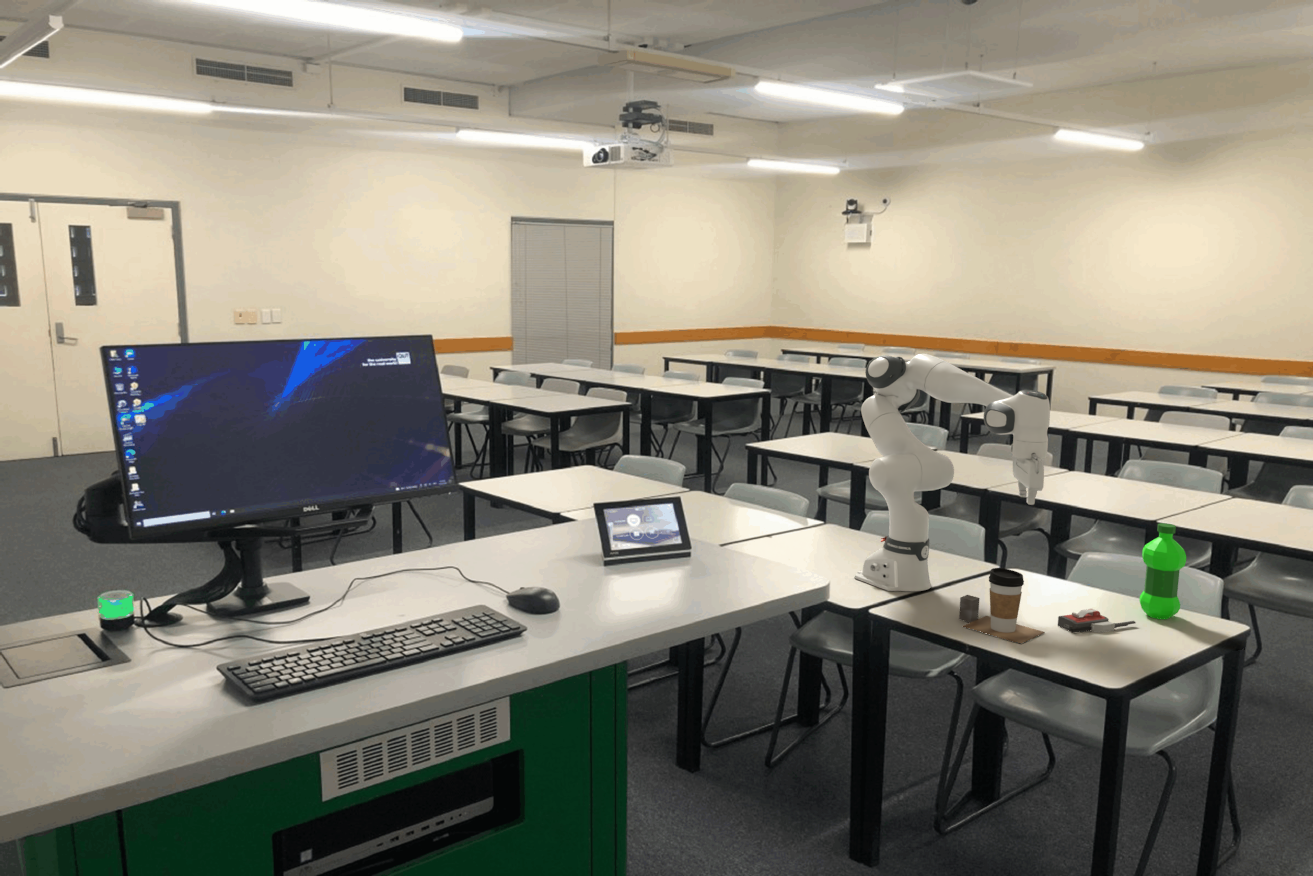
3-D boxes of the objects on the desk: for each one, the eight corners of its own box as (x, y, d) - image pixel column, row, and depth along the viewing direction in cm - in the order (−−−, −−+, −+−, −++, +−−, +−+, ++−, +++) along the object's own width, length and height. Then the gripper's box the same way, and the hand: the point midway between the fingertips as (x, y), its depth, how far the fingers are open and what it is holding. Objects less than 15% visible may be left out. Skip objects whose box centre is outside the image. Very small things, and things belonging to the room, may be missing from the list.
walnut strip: (950, 623, 250) (951, 600, 249) (974, 613, 258) (975, 591, 257) (1021, 644, 235) (1022, 620, 234) (1044, 633, 243) (1046, 609, 242)
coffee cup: (995, 620, 251) (998, 565, 249) (1026, 629, 245) (1030, 572, 243) (979, 628, 245) (983, 571, 243) (1011, 637, 239) (1015, 579, 237)
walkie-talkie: (1077, 638, 241) (1137, 628, 248) (1078, 621, 241) (1139, 612, 248) (1051, 626, 250) (1111, 618, 256) (1052, 610, 249) (1112, 602, 256)
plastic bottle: (1141, 607, 264) (1149, 518, 260) (1184, 615, 258) (1193, 525, 254) (1132, 616, 257) (1140, 525, 253) (1175, 625, 250) (1185, 532, 246)
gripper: (1051, 457, 250) (1048, 509, 252) (1033, 445, 270) (1029, 493, 272) (1026, 456, 251) (1022, 508, 253) (1009, 444, 271) (1006, 492, 273)
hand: (1026, 500), depth 263 cm, fingers open, 8 cm apart
